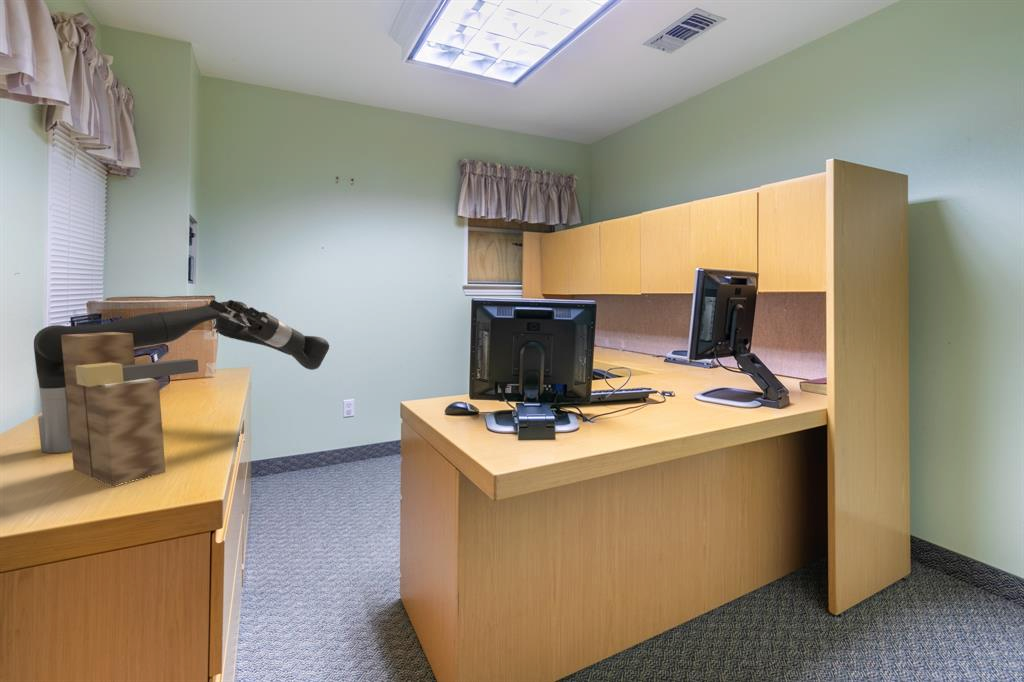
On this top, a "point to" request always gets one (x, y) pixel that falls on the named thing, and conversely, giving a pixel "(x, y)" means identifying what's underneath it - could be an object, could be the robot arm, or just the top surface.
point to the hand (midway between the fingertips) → (219, 303)
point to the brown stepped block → (112, 413)
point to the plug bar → (131, 371)
